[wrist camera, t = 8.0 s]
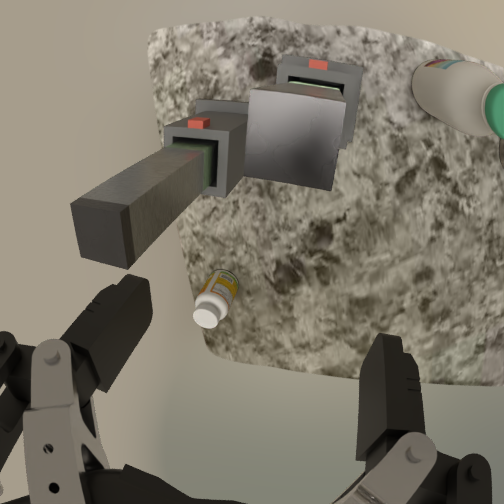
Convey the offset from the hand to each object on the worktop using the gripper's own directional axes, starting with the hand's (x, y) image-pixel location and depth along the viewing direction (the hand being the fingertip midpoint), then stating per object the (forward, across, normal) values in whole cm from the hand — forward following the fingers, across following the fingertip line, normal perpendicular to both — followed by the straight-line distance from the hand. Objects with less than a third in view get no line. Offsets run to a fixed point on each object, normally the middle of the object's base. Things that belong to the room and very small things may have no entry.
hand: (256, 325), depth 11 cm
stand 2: (+35, 0, -5) cm, 35 cm away
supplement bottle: (+35, +11, +27) cm, 46 cm away
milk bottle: (+35, -15, -10) cm, 39 cm away
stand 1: (+35, +11, +2) cm, 37 cm away
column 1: (+28, +11, +2) cm, 30 cm away
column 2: (+28, 0, -5) cm, 28 cm away
